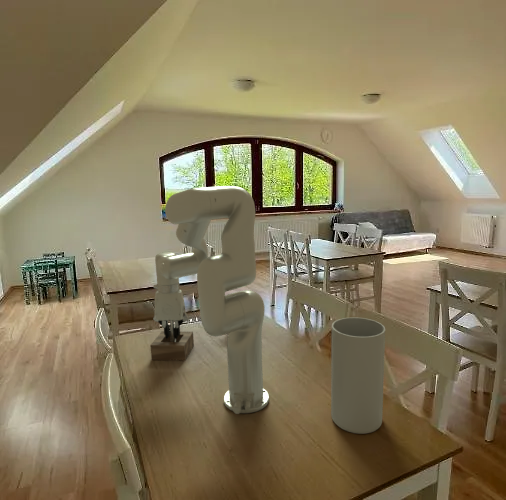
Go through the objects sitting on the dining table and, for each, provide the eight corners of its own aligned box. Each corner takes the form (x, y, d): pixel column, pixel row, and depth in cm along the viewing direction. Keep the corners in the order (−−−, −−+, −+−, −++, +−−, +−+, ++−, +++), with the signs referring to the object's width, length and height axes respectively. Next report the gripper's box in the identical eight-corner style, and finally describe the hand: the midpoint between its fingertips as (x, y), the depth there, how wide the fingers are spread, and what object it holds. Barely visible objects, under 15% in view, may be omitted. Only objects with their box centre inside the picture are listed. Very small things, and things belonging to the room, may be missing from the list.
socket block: (185, 360, 133) (184, 345, 132) (151, 359, 134) (150, 345, 133) (193, 345, 145) (193, 331, 144) (162, 345, 146) (161, 331, 145)
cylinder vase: (344, 399, 107) (345, 314, 102) (389, 416, 99) (393, 324, 94) (322, 422, 97) (322, 329, 93) (370, 442, 89) (372, 341, 85)
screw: (171, 357, 136) (164, 352, 140) (183, 352, 139) (176, 348, 143) (168, 322, 133) (162, 318, 137) (181, 318, 136) (174, 315, 140)
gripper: (142, 291, 132) (146, 341, 135) (188, 290, 130) (191, 341, 134) (150, 284, 139) (154, 332, 143) (193, 284, 138) (197, 333, 141)
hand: (172, 336), depth 138 cm, fingers closed
